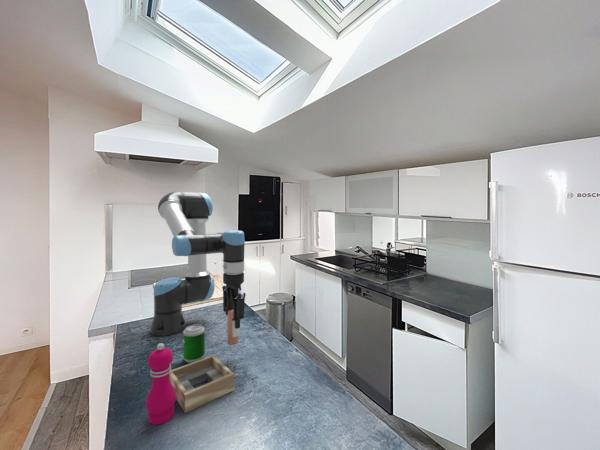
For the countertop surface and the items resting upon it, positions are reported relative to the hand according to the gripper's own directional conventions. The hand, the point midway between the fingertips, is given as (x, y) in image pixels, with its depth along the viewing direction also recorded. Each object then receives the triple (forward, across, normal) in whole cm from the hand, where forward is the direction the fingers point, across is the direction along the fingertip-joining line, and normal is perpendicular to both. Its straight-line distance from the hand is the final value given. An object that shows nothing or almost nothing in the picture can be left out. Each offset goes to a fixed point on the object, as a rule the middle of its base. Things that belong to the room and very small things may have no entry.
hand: (233, 333), depth 103 cm
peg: (+3, 0, 0) cm, 3 cm away
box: (+9, +9, -16) cm, 21 cm away
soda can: (+10, -9, -11) cm, 18 cm away
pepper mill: (+9, +14, -29) cm, 33 cm away
